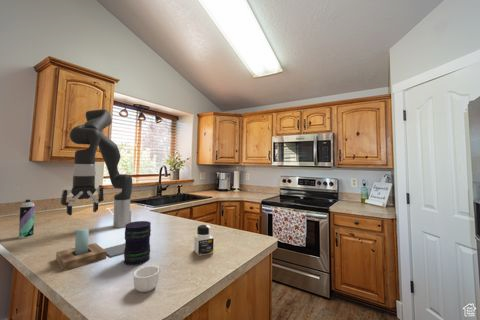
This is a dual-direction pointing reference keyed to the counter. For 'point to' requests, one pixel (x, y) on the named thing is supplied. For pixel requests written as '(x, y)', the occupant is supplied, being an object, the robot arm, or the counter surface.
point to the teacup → (146, 278)
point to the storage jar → (137, 242)
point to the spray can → (26, 219)
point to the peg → (81, 241)
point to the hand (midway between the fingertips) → (82, 213)
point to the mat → (115, 250)
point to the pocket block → (80, 257)
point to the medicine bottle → (203, 240)
